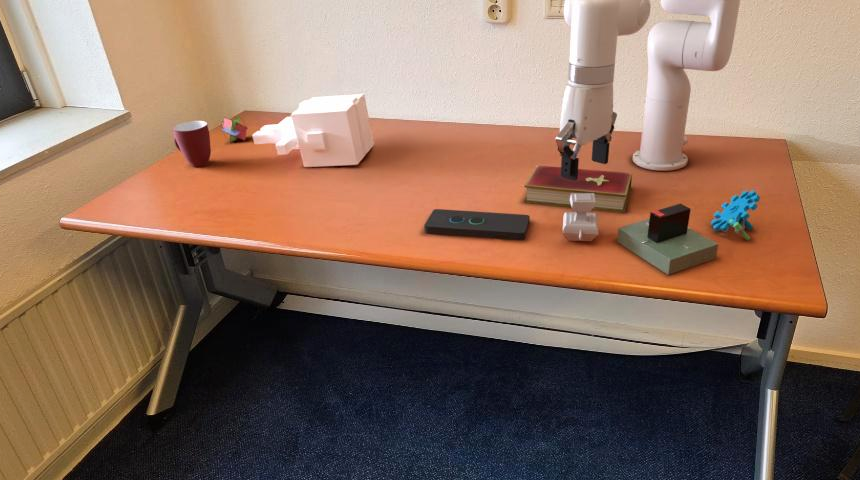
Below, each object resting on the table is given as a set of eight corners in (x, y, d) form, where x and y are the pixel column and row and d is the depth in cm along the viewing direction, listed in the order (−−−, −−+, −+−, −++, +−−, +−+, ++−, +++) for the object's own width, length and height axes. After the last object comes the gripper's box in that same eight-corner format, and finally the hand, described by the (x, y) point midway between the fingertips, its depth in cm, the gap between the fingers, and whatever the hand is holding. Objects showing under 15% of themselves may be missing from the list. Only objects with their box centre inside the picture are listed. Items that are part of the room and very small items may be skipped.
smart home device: (434, 207, 136) (530, 213, 132) (434, 215, 137) (530, 221, 133) (423, 225, 130) (524, 232, 125) (423, 233, 130) (524, 241, 126)
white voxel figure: (286, 145, 182) (383, 139, 177) (246, 180, 162) (354, 176, 156) (272, 91, 175) (372, 84, 169) (228, 122, 154) (340, 114, 148)
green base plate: (616, 242, 125) (617, 227, 123) (662, 227, 129) (664, 213, 127) (667, 275, 114) (670, 259, 112) (716, 258, 118) (719, 242, 116)
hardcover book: (536, 180, 150) (537, 163, 148) (630, 189, 144) (632, 171, 142) (524, 202, 141) (524, 184, 139) (624, 212, 135) (626, 193, 133)
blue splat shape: (710, 206, 132) (755, 179, 125) (728, 226, 133) (774, 200, 127) (707, 238, 124) (755, 210, 117) (727, 259, 125) (775, 232, 119)
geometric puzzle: (259, 129, 182) (238, 106, 180) (246, 137, 177) (225, 113, 174) (243, 143, 186) (223, 120, 183) (231, 152, 180) (209, 128, 178)
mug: (168, 167, 166) (157, 129, 161) (189, 156, 173) (178, 119, 167) (203, 171, 163) (192, 132, 158) (223, 159, 170) (213, 121, 164)
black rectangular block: (676, 227, 122) (680, 202, 119) (686, 233, 120) (691, 207, 117) (647, 237, 119) (650, 211, 117) (656, 243, 117) (660, 216, 115)
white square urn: (562, 226, 131) (564, 186, 126) (596, 226, 130) (599, 187, 126) (562, 247, 123) (564, 206, 119) (598, 248, 123) (601, 207, 118)
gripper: (600, 60, 118) (593, 152, 127) (541, 81, 107) (538, 179, 116) (637, 66, 113) (628, 161, 122) (580, 88, 103) (574, 190, 112)
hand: (584, 170), depth 119 cm, fingers open, 9 cm apart
